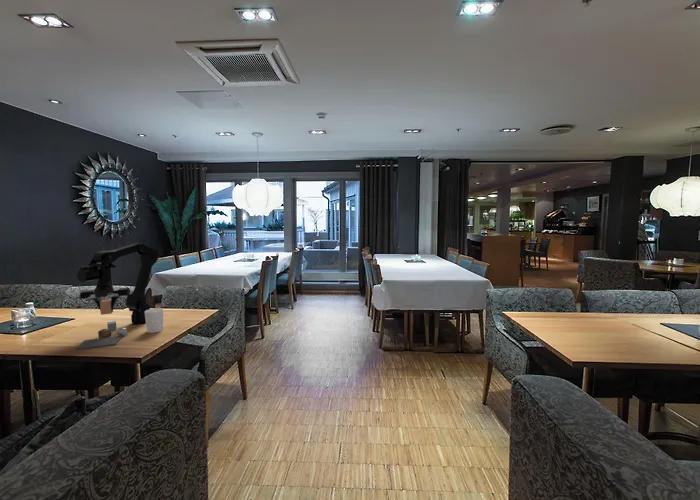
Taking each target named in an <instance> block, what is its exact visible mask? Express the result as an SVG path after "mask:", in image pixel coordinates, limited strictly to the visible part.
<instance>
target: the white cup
mask: <svg viewBox="0 0 700 500" xmlns="http://www.w3.org/2000/svg"><path fill="white" fill-rule="evenodd" d="M145 321H146V323H145V326H146V332H147V333H149V334H151V333H152V334H155V333H161V332H162V331H163V330H164V309H163V308H150V309H149V310H146V311H145Z"/></svg>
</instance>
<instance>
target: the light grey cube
mask: <svg viewBox="0 0 700 500" xmlns="http://www.w3.org/2000/svg"><path fill="white" fill-rule="evenodd" d="M127 330H128V329H127V327H126V326H122V327H118V328H117V337H118V336H121V338H123V337H127V336H128V331H127Z"/></svg>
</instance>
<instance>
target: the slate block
mask: <svg viewBox="0 0 700 500" xmlns="http://www.w3.org/2000/svg"><path fill="white" fill-rule="evenodd" d="M106 325H107V329H111V331H115V330H116V329H118V328H117V321H116V320H114V321H113V320H112V321H107V322H106Z"/></svg>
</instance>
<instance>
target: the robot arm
mask: <svg viewBox="0 0 700 500" xmlns="http://www.w3.org/2000/svg"><path fill="white" fill-rule="evenodd" d="M135 253H136V254H137V255H139V256H140V259H139V260H140V263H141V266H140V269H139V272H138V275H137V279H136V282H135V286H134V290H133V291H132V292H131V290H130V287H120V288H118V289H117V290H115V289H114V286H113V273H112V269H114V268H115V269H116V267H117V266H116V265H115V264H114V262H115V261H116V260H118V259H119V258H122V257H125V256H128V255H131V254H135ZM159 256H160V252H159V251H158V250H157V249H154V248H152V247H149V246H148V245H145V244H143V243H142V242H133V243H132V244H128V245H125V246H122V247H118V248H115V249H110V250H102V251H101V250H100V251H96V252H95V253H94V254H93V256H92V259H91V260H90V262H89V263H88V265H87V266H79V269H78V271H77V274H76V278H77V280H78V281H79V282H80V283H86V282H93V281H96V286H95V288H94V289H87V290H85V289H84V290H83V291H81V292H80V293H79V299H80V300H81V299H84V300H85V299H90V300H92V301H93V302H95V304H96V305H97V307H98V310H99V311H100V312H101V310H100V302H101V301H102V300H103V299H102V298H106V297H108V296H110V295H112V296H111V297H110V300H112V303H111V309H112V311H113V312H114V310H115V309H114V308H115V306H116V303H117V300H118V299H119V298H120V297H125V296H127V297H126V300H125V302H126V303H125V306H126V307H127V309H128V311H129V312H132V314H131V315H130V316H131V317H130V318H131V324H132V325H142V324H146V321H145V311H146V310H149V309H151V305H149V304H148V303H146V302H147V297H146V290H147V286H148V282H149V278H150V275H151V271H152V269H153V266H154V265H155V264H156V263H157V262H158V260H159Z"/></svg>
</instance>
